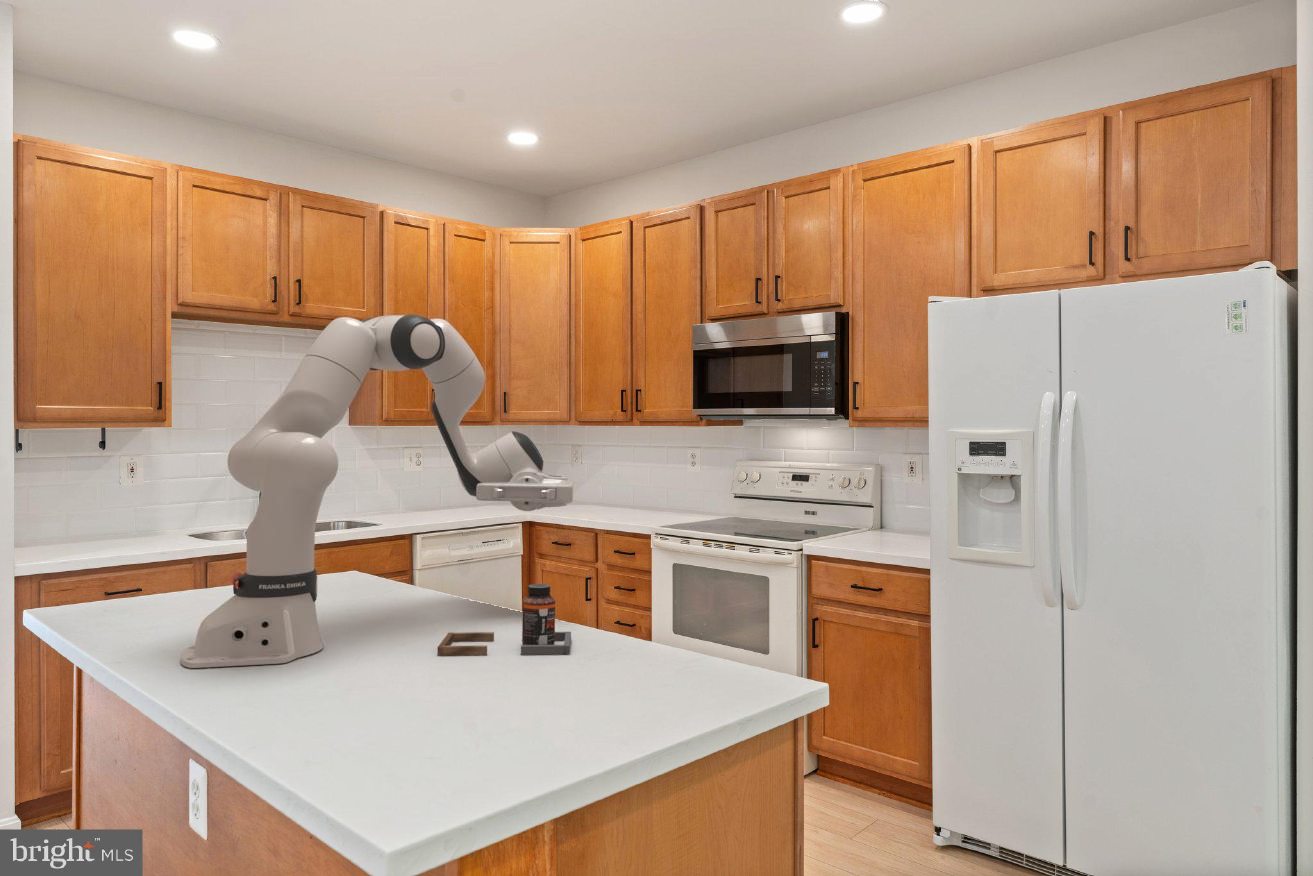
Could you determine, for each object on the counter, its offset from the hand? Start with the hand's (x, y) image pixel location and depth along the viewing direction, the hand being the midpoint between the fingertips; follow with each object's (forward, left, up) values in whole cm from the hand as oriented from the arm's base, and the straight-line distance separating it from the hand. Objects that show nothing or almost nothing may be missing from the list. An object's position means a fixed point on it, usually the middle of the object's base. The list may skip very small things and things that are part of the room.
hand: (522, 494), depth 172 cm
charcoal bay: (-1, -19, -27) cm, 33 cm away
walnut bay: (-14, -14, -27) cm, 33 cm away
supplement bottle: (-2, -18, -27) cm, 33 cm away
